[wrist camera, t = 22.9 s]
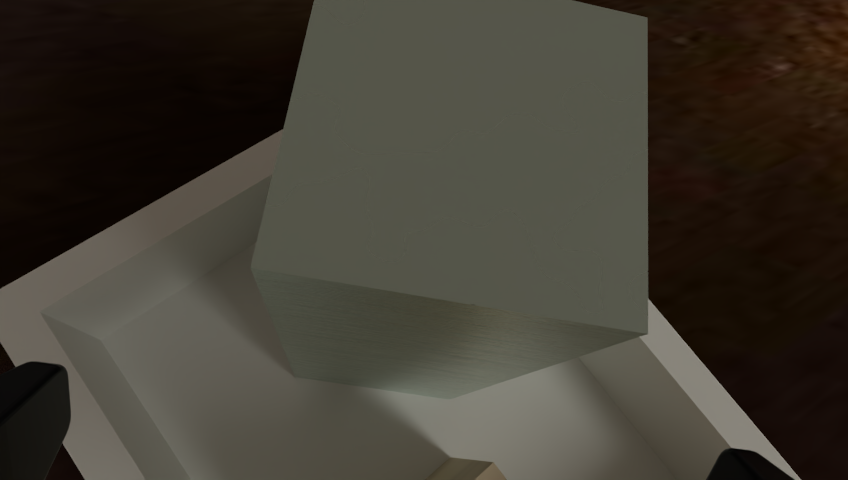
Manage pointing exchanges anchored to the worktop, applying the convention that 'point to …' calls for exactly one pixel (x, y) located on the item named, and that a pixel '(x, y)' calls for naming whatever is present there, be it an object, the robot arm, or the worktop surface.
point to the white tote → (312, 399)
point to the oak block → (466, 470)
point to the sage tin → (458, 193)
